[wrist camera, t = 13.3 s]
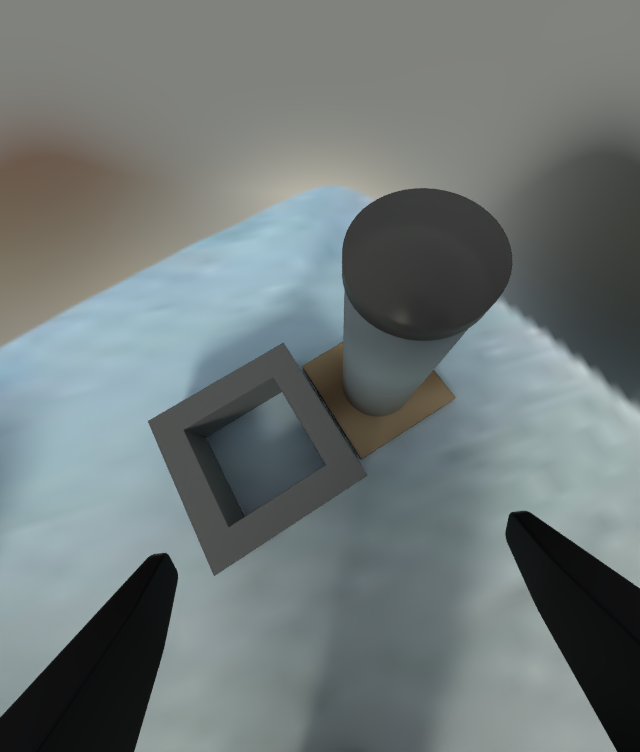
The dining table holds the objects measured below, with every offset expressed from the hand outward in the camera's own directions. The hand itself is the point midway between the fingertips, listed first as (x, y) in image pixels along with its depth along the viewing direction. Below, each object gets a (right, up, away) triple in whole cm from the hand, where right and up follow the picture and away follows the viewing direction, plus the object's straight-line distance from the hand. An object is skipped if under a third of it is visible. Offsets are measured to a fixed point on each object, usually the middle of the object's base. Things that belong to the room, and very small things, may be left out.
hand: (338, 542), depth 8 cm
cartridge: (+4, +4, +15) cm, 16 cm away
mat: (+4, +4, +15) cm, 16 cm away
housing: (-4, -1, +14) cm, 15 cm away
